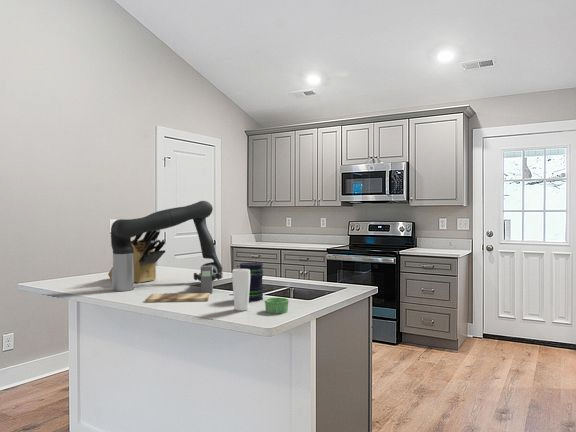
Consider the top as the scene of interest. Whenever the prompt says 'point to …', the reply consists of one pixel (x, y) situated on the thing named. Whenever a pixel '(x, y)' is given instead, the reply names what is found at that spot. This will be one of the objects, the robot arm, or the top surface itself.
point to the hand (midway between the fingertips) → (206, 278)
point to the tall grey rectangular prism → (206, 279)
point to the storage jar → (255, 280)
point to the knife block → (146, 256)
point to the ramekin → (276, 305)
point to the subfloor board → (178, 297)
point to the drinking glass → (241, 288)
